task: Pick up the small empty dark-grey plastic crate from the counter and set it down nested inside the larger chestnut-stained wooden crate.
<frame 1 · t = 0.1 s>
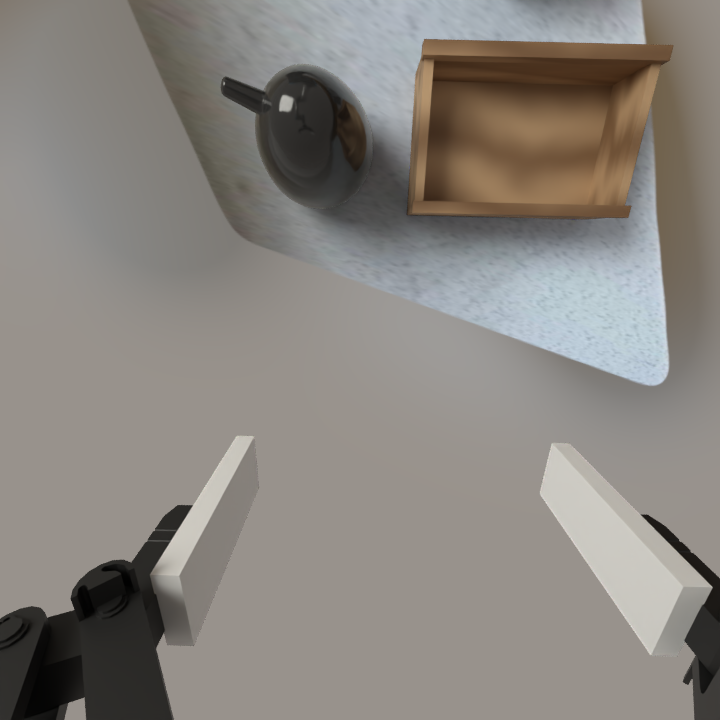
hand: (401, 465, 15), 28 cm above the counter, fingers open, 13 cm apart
pump dispenser: (322, 158, 36), on the counter
large crate: (506, 151, 36), on the counter
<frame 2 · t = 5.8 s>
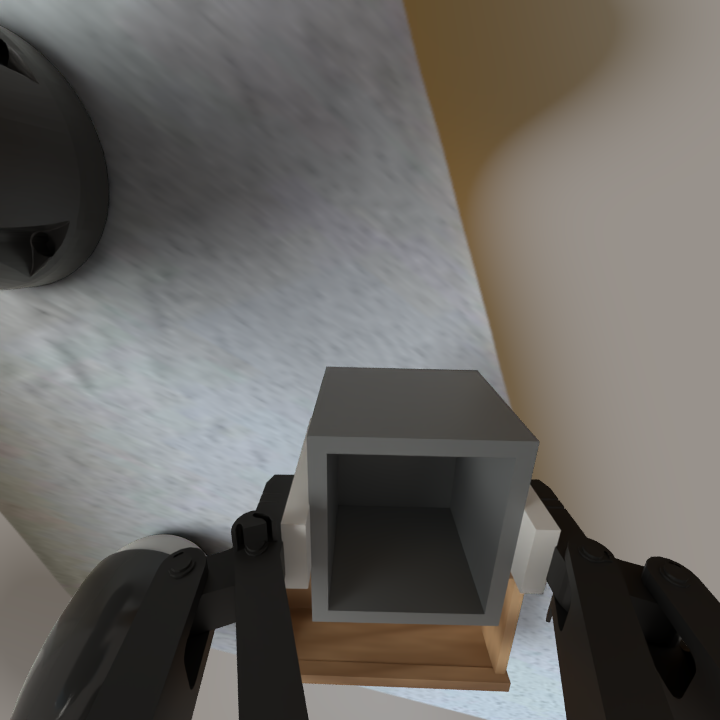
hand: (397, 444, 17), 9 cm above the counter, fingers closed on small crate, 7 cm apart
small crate: (396, 443, 17), point 9 cm above the counter, touching gripper
pump dispenser: (175, 557, 32), on the counter
large crate: (382, 558, 31), on the counter
when the fingers open (2 cm above the counter, at t = 10.4 s): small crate stays where it is, resting on large crate.
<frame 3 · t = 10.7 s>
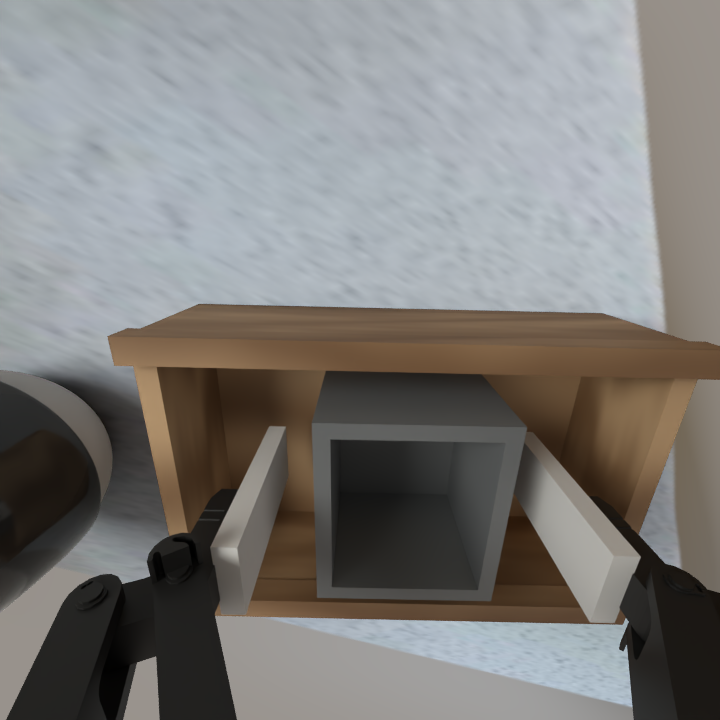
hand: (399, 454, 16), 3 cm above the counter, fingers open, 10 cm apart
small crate: (395, 433, 18), point 1 cm above the counter, touching large crate
pump dispenser: (54, 428, 19), on the counter
large crate: (393, 422, 19), on the counter
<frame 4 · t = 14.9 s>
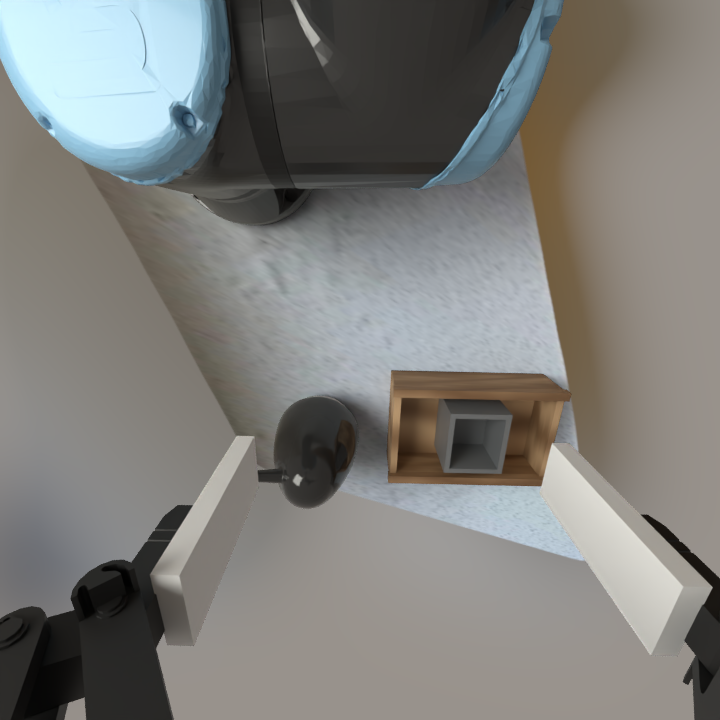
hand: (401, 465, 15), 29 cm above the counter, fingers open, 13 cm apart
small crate: (463, 419, 46), point 1 cm above the counter, touching large crate
pump dispenser: (321, 417, 47), on the counter
large crate: (461, 415, 47), on the counter
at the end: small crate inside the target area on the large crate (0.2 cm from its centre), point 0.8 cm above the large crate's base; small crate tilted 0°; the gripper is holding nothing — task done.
